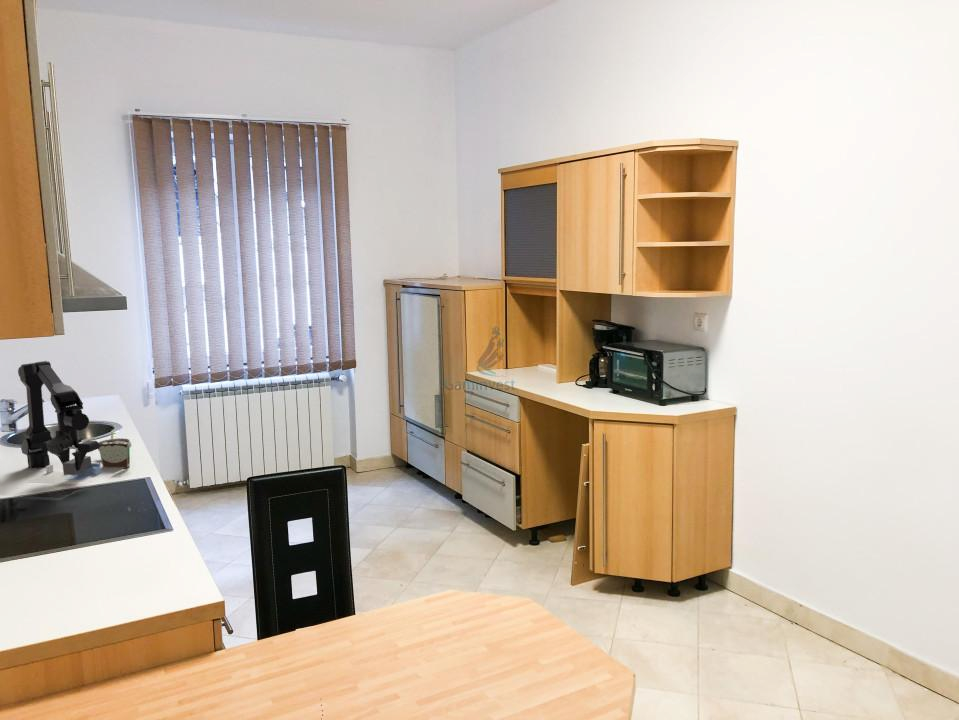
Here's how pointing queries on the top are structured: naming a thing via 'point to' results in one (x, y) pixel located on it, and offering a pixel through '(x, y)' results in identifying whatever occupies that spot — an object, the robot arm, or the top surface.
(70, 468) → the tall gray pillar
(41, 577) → the top surface
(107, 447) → the food container
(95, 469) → the miniature room diorama
